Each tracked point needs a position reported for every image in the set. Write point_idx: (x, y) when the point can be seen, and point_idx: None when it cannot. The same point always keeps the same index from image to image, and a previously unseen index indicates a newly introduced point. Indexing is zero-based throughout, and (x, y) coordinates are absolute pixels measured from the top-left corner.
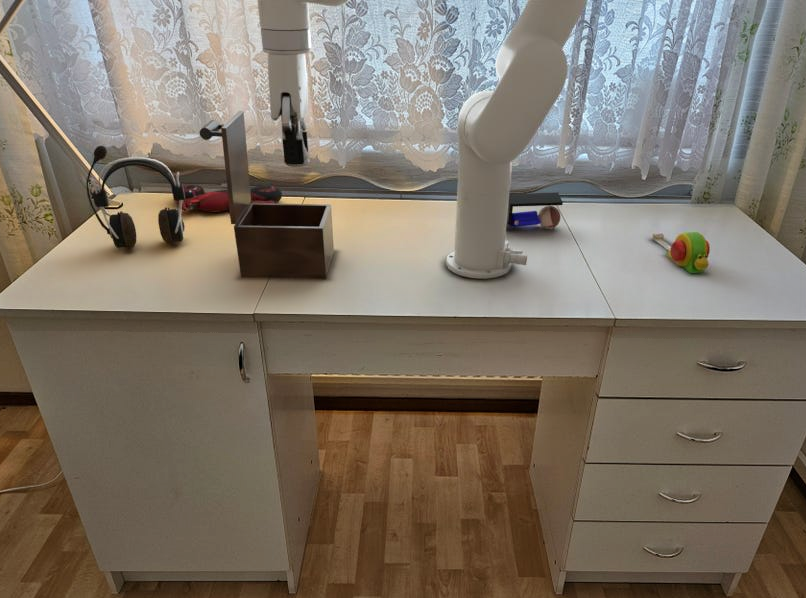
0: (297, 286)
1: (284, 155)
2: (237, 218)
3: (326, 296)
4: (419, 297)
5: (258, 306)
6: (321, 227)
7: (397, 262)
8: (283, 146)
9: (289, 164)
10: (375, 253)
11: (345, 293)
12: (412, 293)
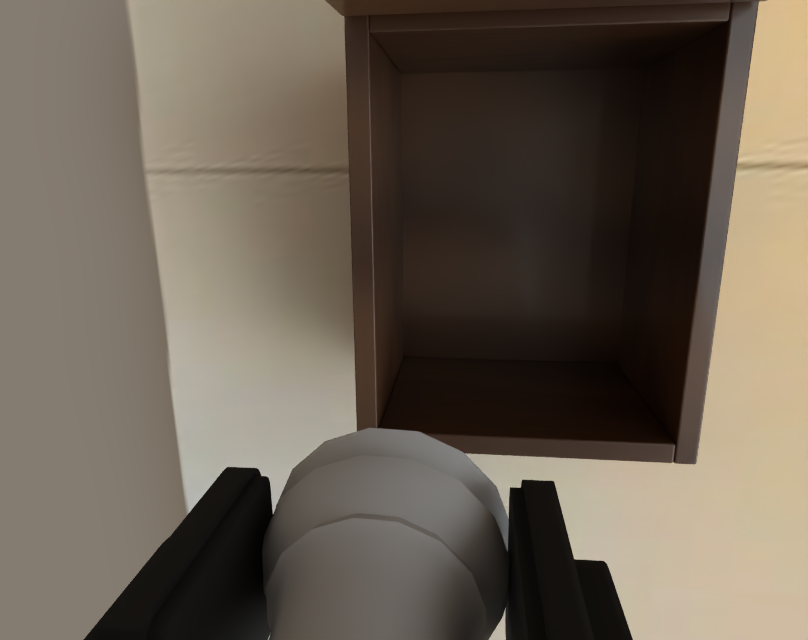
0: (331, 279)
1: (199, 507)
2: (391, 11)
3: (269, 376)
4: None
5: (181, 177)
6: None
7: None
8: (149, 568)
9: (290, 482)
10: (606, 511)
11: (294, 428)
12: None
